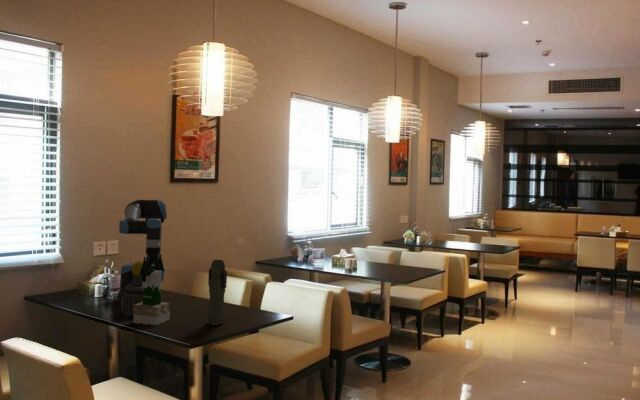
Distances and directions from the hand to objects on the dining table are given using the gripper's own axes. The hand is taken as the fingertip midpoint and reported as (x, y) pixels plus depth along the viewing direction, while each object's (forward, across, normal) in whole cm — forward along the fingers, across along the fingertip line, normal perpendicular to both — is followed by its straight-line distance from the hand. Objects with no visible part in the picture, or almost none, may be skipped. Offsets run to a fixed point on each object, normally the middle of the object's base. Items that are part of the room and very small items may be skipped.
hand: (151, 285), depth 318 cm
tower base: (+20, 0, 0) cm, 20 cm away
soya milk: (+10, 0, 0) cm, 10 cm away
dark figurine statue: (+20, +11, -34) cm, 41 cm away
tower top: (+15, 0, 0) cm, 15 cm away
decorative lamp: (+20, +14, +17) cm, 30 cm away
